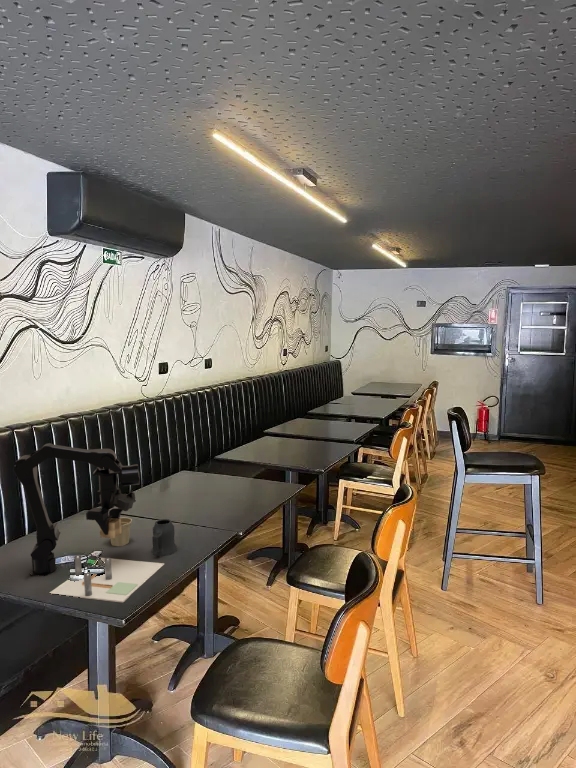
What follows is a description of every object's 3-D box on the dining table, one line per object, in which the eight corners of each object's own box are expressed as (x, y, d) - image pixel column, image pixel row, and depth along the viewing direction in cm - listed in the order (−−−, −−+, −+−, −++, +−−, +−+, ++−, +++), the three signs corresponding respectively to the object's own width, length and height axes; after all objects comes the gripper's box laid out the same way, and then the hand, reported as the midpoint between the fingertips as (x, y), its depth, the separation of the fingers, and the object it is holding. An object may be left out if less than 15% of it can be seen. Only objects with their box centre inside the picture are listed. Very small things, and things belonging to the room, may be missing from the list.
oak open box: (100, 537, 185) (99, 522, 185) (108, 531, 190) (107, 517, 190) (113, 538, 184) (112, 523, 184) (121, 532, 189) (120, 518, 188)
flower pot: (102, 544, 206) (101, 521, 205) (125, 537, 212) (124, 515, 212) (114, 551, 199) (113, 527, 198) (137, 543, 206) (136, 521, 205)
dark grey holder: (158, 546, 203) (156, 516, 202) (181, 547, 201) (180, 518, 200) (143, 559, 191) (141, 528, 190) (167, 561, 189) (166, 529, 188)
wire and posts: (85, 596, 164) (84, 575, 163) (74, 574, 179) (73, 555, 178) (118, 588, 169) (117, 568, 168) (105, 567, 184) (104, 549, 183)
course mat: (49, 594, 167) (49, 592, 167) (99, 558, 193) (99, 556, 193) (123, 602, 161) (123, 600, 161) (164, 564, 187) (164, 563, 187)
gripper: (114, 496, 174) (117, 544, 176) (143, 480, 192) (145, 523, 194) (83, 494, 177) (86, 541, 179) (115, 479, 195) (117, 521, 197)
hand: (110, 531), depth 187 cm, fingers closed on oak open box, 5 cm apart
